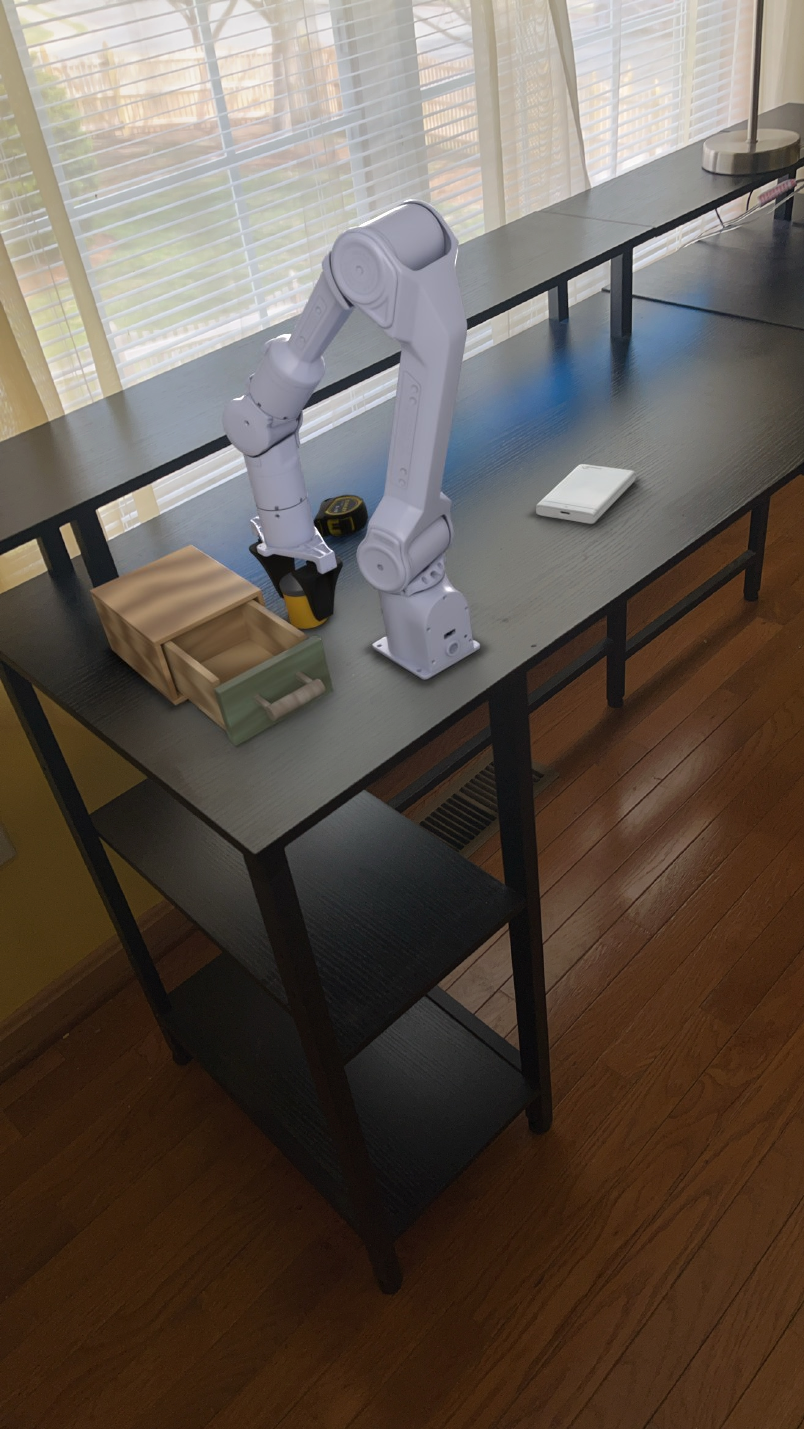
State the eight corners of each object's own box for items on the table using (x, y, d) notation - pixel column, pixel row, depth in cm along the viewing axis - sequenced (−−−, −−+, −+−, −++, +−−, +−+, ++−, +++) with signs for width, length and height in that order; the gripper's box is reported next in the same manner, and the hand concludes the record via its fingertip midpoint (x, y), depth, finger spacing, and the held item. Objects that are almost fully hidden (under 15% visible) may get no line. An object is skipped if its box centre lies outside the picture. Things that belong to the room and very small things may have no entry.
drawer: (357, 708, 104) (345, 654, 100) (257, 765, 99) (241, 711, 95) (257, 638, 118) (244, 588, 114) (165, 686, 112) (147, 635, 108)
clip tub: (303, 634, 118) (294, 595, 115) (280, 619, 122) (271, 581, 118) (338, 616, 120) (329, 578, 117) (314, 602, 124) (306, 564, 120)
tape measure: (326, 518, 141) (320, 493, 139) (374, 516, 139) (370, 491, 137) (314, 543, 136) (308, 517, 133) (364, 541, 134) (359, 515, 132)
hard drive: (578, 463, 140) (535, 503, 132) (635, 470, 136) (594, 512, 128) (579, 474, 141) (536, 515, 133) (635, 482, 137) (594, 524, 129)
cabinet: (277, 651, 116) (261, 589, 111) (175, 705, 111) (153, 642, 106) (208, 603, 127) (190, 544, 122) (111, 650, 122) (89, 590, 117)
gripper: (217, 495, 115) (245, 599, 123) (286, 532, 105) (312, 643, 113) (269, 471, 118) (294, 574, 126) (342, 506, 108) (363, 615, 116)
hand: (306, 605), depth 120 cm, fingers open, 7 cm apart
